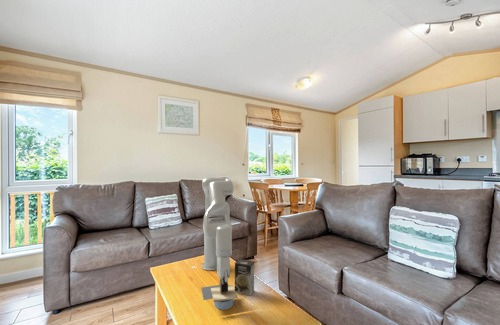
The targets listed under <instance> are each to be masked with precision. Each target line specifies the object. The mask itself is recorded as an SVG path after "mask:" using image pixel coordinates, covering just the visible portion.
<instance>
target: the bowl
mask: <svg viewBox="0 0 500 325" xmlns="http://www.w3.org/2000/svg"><path fill="white" fill-rule="evenodd" d="M213 304H214V307H215V309H217V310H222V311H223V310H225V311H226V310H228V309H230V308H232V307H233V305H234V299H230V300H224V301H218V302H214V301H213Z"/></svg>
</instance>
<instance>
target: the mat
mask: <svg viewBox="0 0 500 325" xmlns="http://www.w3.org/2000/svg"><path fill="white" fill-rule="evenodd" d="M215 287H220V284H217V285H210V286H204V287H201V292H202V298H203V301H205V300H210V299H212V300H213V296H212V292H211V288H215Z"/></svg>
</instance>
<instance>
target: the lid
mask: <svg viewBox="0 0 500 325" xmlns="http://www.w3.org/2000/svg"><path fill="white" fill-rule="evenodd" d="M223 280H225V279H223ZM221 284H222V279H220V278H219V285H220V287H215V288H211V292H212V296H213V299H212V300H213V303H214V302H218V301H224V300H230V299H233V300H236V299H238V293H236V292H235V286H234V285H233V284H228V292H221Z"/></svg>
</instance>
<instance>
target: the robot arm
mask: <svg viewBox="0 0 500 325" xmlns="http://www.w3.org/2000/svg"><path fill="white" fill-rule="evenodd" d="M201 186H202V187H201V188H202V190H203V192H204V197H205V201H204V202H205V204H204V205H205V207H204V211H205V213H204V215H203V222H202V228H203V229H202V230H203V244H204V246H203V248H204V250H203V251H204V252H203V254H204V256H203V257H204V258H203V263H202V264H201V269H203V270H205V271H215V270H216V272H217V275H218V278H219V280H220V279H222V284H221V292H228V285H229V278H230V277H231V259H230V258H231V256H232V255H233V254H232V252H233V250H232V249H233V247H232V245H233V244H232V241H233V238H232V237H233V236H232V235H233V233H232V232H233V225H232V223H231V222H230V219H231V218H230V214H231V213H230V210H231V209H230V204H229V203H228V202H226V198H225V196H229V195H230V196H231V195H233V193H234V191H235V189H234V188H235V186H234V183H233V181H232V180H231V179H230V178H228V177H206V178H203V179H202V181H201ZM223 279H225V280H223Z"/></svg>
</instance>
